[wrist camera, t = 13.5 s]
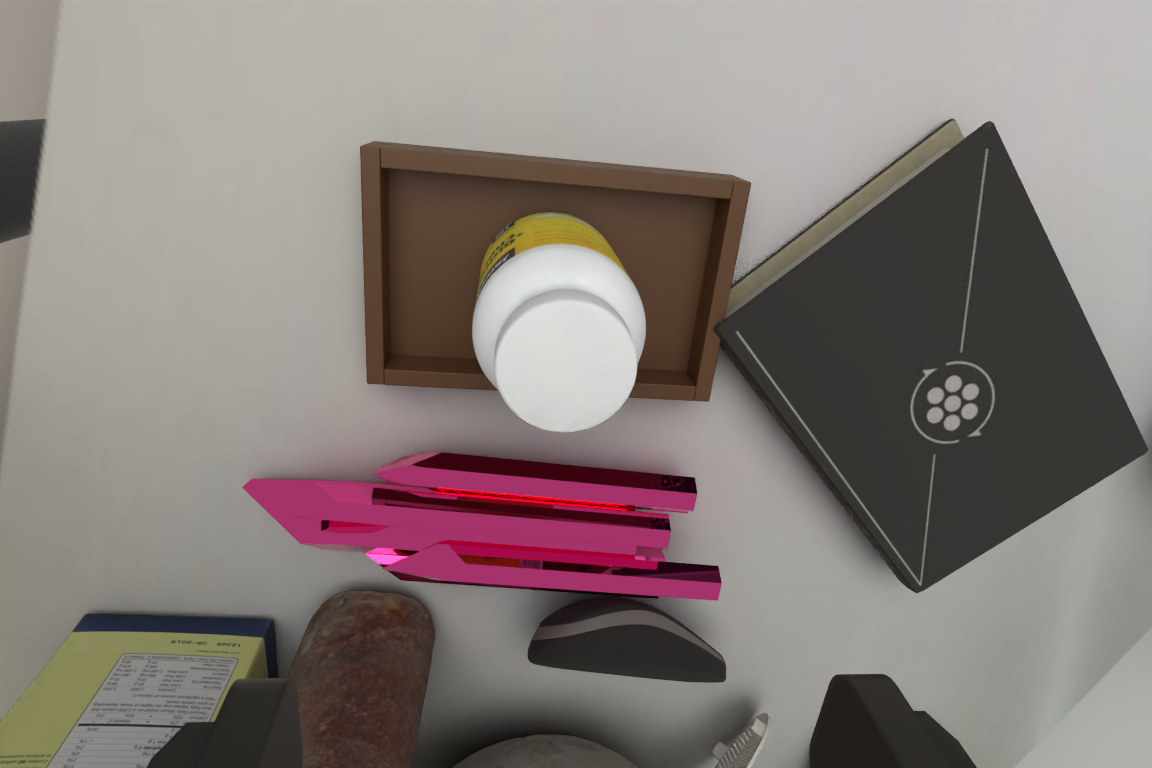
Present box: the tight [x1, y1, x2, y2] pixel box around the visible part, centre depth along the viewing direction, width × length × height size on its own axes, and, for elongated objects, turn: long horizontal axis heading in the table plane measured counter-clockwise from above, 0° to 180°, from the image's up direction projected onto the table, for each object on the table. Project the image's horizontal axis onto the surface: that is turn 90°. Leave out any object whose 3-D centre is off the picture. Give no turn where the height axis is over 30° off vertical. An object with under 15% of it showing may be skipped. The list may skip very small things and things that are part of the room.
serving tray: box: [360, 141, 751, 401], centre depth 32 cm, size 17×11×3 cm, turn 84°
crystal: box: [243, 452, 722, 600], centre depth 35 cm, size 8×6×25 cm
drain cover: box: [712, 713, 771, 768], centre depth 44 cm, size 8×8×1 cm
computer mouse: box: [528, 597, 726, 682], centre depth 39 cm, size 7×12×4 cm
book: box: [713, 119, 1148, 593], centre depth 35 cm, size 22×15×3 cm
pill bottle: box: [472, 210, 646, 432], centre depth 27 cm, size 6×6×12 cm
